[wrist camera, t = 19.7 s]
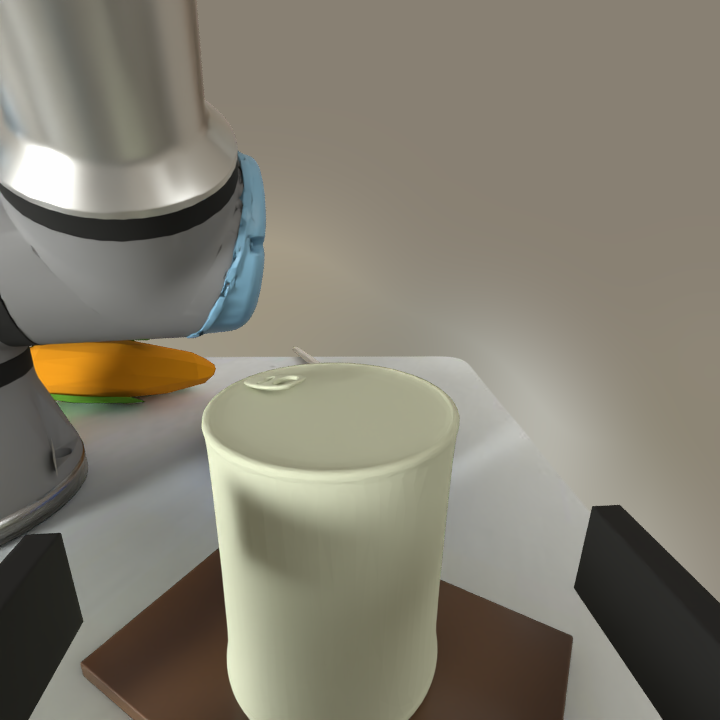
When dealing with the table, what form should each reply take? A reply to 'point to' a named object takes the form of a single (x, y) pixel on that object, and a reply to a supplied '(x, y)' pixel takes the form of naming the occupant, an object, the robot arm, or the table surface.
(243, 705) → the can
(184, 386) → the corn
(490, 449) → the table surface
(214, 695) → the board
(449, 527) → the table surface
